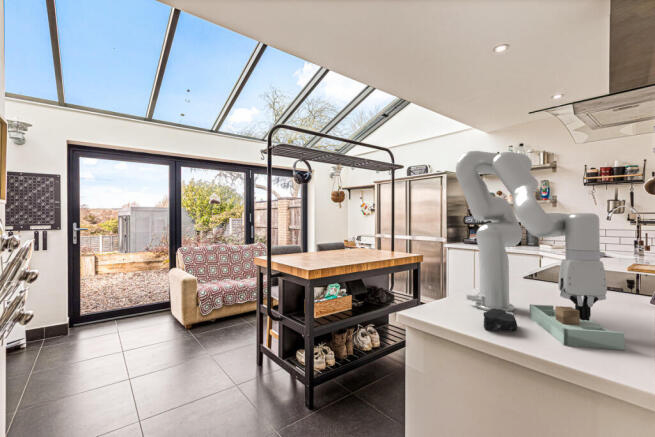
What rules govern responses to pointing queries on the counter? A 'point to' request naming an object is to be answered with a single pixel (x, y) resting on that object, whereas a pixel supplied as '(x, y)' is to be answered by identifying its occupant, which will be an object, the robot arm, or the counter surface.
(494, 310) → the rock
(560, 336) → the tray
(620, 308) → the counter surface
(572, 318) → the walnut block
